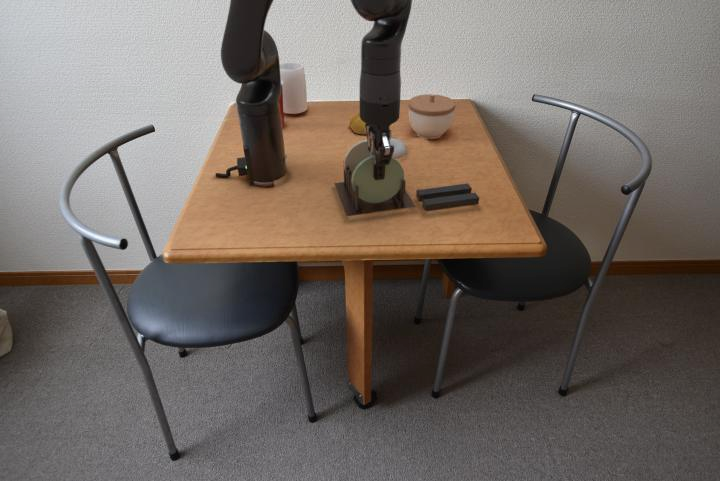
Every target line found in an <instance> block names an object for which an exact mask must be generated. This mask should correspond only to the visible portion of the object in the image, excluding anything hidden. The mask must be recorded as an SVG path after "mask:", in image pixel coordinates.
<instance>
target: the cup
mask: <svg viewBox="0 0 720 481" xmlns="http://www.w3.org/2000/svg"><path fill="white" fill-rule="evenodd" d="M280 77H281V79H282V81H283V84H282V90H283V110H284V114H289V115H290V114H292V115H294V114H301V113H304V112H306V111H307V110H308V95H307V94H308V93H307V80H306V73H305V66H304V64H303V63H301V62H296V61H287V62H286V61H285V62H282V63H280Z"/></svg>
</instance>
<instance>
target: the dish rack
mask: <svg viewBox="0 0 720 481" xmlns="http://www.w3.org/2000/svg"><path fill="white" fill-rule="evenodd" d="M342 162H343V164H342V165H343V166H342V167H344V160H343V161H342ZM351 181H352V175H351V170H349V165H346V172H345V170H344V169H343V181H341V182H340V181H339V182H334V186H335V189H336V192H337V194H338V197H339V200H340V202H341V205H342V208H343V211H344V213H345V216H346V217H351V216H352V217H353V216H359V215H365V214H366V215H367V214H372V213H373V214H374V213H380V212H388V211H394V210H403V209H409V208H415V207H416V205H415V203H414V202H413V200H412V199H411V197H410V195H409V193H408V192H407V190H406V182H407V181H406V179H404V180H402V186H401V188H400V190H399V191H398V192H397V193H396V194H395V195H394V196H393V197H392V198H390V199H388V200H386V201H384V202H380V203H369V202H366V201H363V200H362V199H360V198H359V187H358V186H355V192H354V190H353V187H352V182H351Z"/></svg>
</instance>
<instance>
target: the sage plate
mask: <svg viewBox="0 0 720 481" xmlns="http://www.w3.org/2000/svg"><path fill="white" fill-rule="evenodd" d="M373 160H374V155H371V156H369V157H367V158H365V159H364V160H362V161H361V162H360V163H359V164H358V165H357V166H356V168H355V170H354V172H353V174H352V181H351V182H352V187H353V190H354V192H355V186H358V187H359V198H360V199H362V200H363V201H366V202H369V203H380V202H384V201H386V200H388V199H390V198H392V197H393V196H394V195H395V194H396V193H397V192H398V191H399V190H400V188H401V186H402V180H405V172H404V168H403V166H402V164H401V163H400V161H399V160H398V158H397V159H395V158H394V157H392V158H391V160H390V163H389V165H385V178H384V179H383V180H375V179H374V177H373V174H374V163H373Z"/></svg>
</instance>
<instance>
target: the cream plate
mask: <svg viewBox="0 0 720 481" xmlns="http://www.w3.org/2000/svg"><path fill="white" fill-rule="evenodd" d="M369 156H370V152H369V150H368V142H367V138H365V139H361V140H359V141H357V142H355V143H354V144H353V145H351V147H350V148H349V149H348V150H347V152H346V154H345V156H344V159H343V161H344V166H343V171H344V170H345V172H346V165H349V170H351V175H352V174H353V172H354V170H355V168H356V166H357V165H358V164H359V163H360V162H361V161H362V160H364V159H365V158H367V157H369Z"/></svg>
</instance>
